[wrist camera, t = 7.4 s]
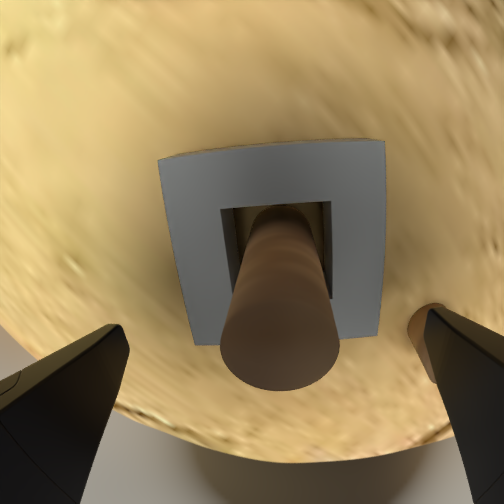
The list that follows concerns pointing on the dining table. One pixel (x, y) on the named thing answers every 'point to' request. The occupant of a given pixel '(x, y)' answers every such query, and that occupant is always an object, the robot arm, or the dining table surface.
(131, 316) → the dining table surface
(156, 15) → the dining table surface
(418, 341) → the short pin
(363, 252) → the socket block
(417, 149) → the dining table surface
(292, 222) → the long pin
